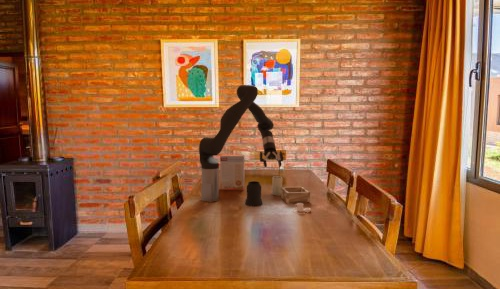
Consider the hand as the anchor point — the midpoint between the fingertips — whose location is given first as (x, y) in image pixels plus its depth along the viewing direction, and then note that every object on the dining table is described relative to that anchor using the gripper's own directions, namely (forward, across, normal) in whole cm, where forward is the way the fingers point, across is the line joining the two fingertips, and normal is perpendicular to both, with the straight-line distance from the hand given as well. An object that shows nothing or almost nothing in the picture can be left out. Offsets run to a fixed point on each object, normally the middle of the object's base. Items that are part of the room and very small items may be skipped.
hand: (273, 166), depth 192 cm
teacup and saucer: (+42, +4, -21) cm, 47 cm away
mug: (+28, -16, -8) cm, 33 cm away
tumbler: (+17, 0, +3) cm, 18 cm away
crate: (+26, +7, -6) cm, 28 cm away
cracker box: (+7, -24, +13) cm, 28 cm away
